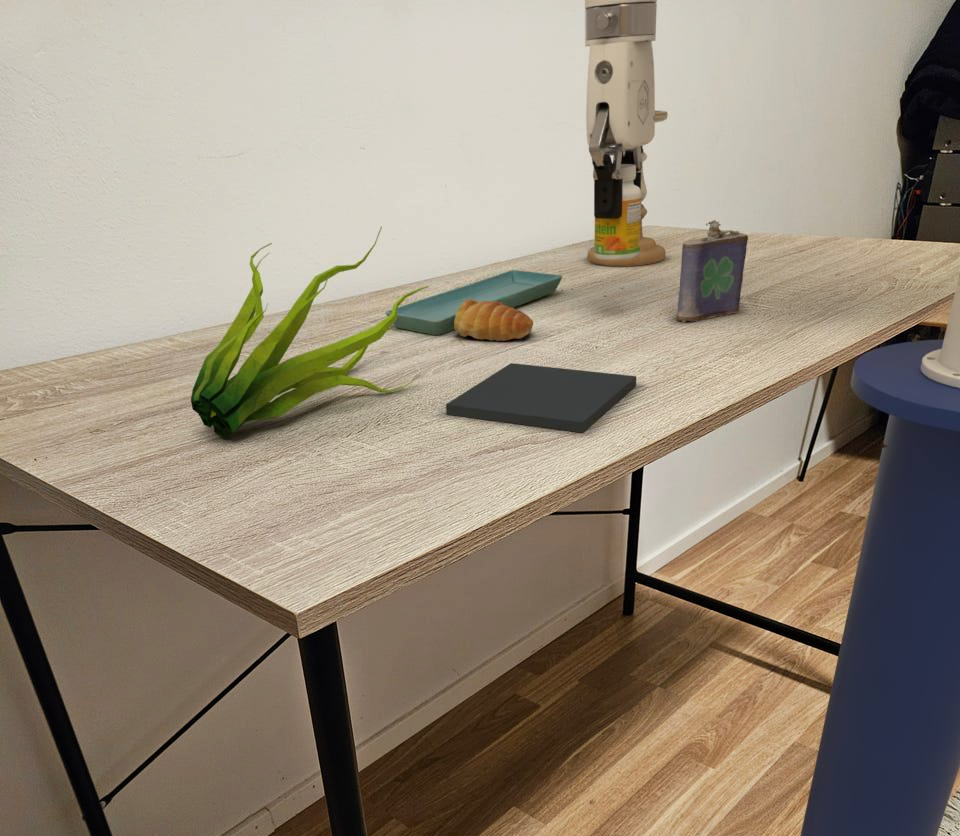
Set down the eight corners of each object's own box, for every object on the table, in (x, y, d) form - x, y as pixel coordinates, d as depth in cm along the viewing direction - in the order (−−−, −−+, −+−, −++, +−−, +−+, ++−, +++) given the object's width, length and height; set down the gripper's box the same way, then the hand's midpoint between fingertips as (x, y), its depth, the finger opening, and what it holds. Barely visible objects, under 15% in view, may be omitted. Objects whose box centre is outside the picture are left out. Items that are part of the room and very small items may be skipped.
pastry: (543, 331, 108) (542, 298, 106) (517, 346, 103) (516, 312, 101) (476, 325, 112) (474, 293, 110) (448, 339, 107) (446, 306, 105)
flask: (684, 323, 108) (692, 227, 102) (669, 318, 110) (676, 224, 104) (744, 312, 111) (754, 218, 105) (728, 307, 113) (738, 215, 108)
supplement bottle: (585, 259, 107) (584, 168, 102) (614, 251, 110) (615, 163, 105) (619, 262, 104) (621, 169, 99) (648, 254, 107) (651, 163, 102)
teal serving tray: (437, 338, 108) (436, 317, 106) (384, 329, 113) (382, 308, 111) (564, 294, 124) (564, 275, 123) (512, 287, 129) (512, 269, 128)
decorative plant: (489, 382, 93) (483, 229, 84) (217, 453, 79) (178, 278, 71) (402, 347, 105) (390, 211, 97) (154, 403, 92) (116, 250, 84)
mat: (636, 385, 89) (636, 376, 89) (582, 433, 79) (583, 422, 78) (511, 372, 95) (510, 362, 94) (446, 414, 85) (445, 404, 84)
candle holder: (638, 248, 149) (644, 108, 138) (680, 260, 139) (691, 110, 128) (573, 257, 145) (574, 114, 134) (612, 270, 135) (617, 117, 124)
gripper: (625, 24, 87) (622, 226, 97) (679, 24, 99) (671, 203, 109) (555, 31, 90) (559, 225, 100) (615, 30, 103) (613, 203, 112)
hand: (617, 212), depth 104 cm, fingers closed on supplement bottle, 5 cm apart
